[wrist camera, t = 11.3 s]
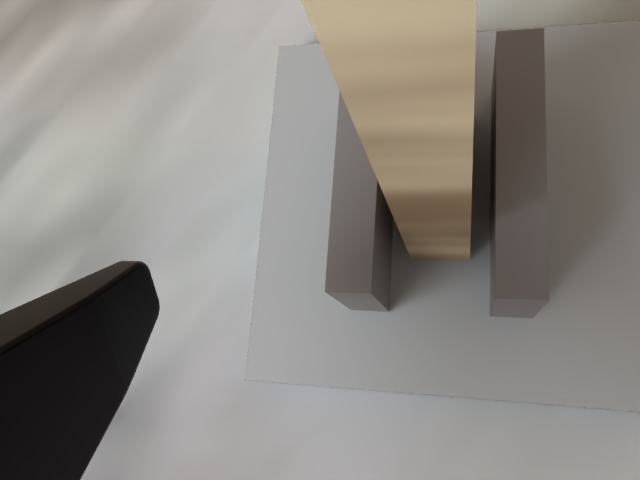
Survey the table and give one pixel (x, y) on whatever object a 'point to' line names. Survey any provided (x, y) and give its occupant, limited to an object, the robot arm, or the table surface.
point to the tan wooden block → (410, 108)
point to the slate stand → (486, 236)
